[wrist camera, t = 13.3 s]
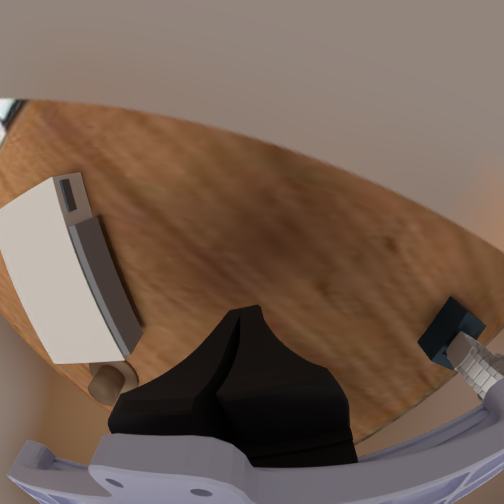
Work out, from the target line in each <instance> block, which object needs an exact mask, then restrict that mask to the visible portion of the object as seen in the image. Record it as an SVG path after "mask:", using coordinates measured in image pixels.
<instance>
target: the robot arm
mask: <svg viewBox="0 0 504 504" xmlns="http://www.w3.org/2000/svg"><path fill="white" fill-rule="evenodd" d="M108 427H109V430H110V431H111V433H112V434H109V435H103V436H102V438H101V440H100V443H99V445H98V447H97V449H96V451H95V453H94V456H93V458H92V460H91V463H90V465H85V464H81V463H77V462H73V461H70V460H66V459H62V458H59V457H56V456H55V455H54V454H53V453H52V452H51V451H50V450H49V449H48V448H47V447H46V446H44V445H43V444H41V443H38V442H35V441H32V440H27V441H26V443H25V445H24V446H23V448H22V449H21V451H20V453H19V454H18V456H17V458H16V459H15V461H14V463H13V465H12V466H11V468H10V470H9V471H8V474H7V476H8V477H9V478H10V479H11V480H12V481H13V482H15V483H16V484H17V485H18V486H19V487H20V488H22V489H23V490H24V491H25V492H27V493H28V494H29V495H30V496H32V497H33V498H34V499H36V500H37V501H38V502H40V503H41V504H452V503H454V502H455V501H457V500H459V499H460V498H462V497H464V496H465V495H467V494H468V493H470V492H471V491H473V490H475V489H476V488H478V487H479V486H481V485H482V484H484V483H485V482H487V481H488V480H489V479H491V478H492V477H494V476H495V475H496V474H498V473H499V472H501V471H502V470H503V469H504V378H502V379H501V380H499V381H498V382H496V383H495V384H494V385H492V386H491V387H490V388H489V390H488V391H487V393H486V395H485V397H484V400H483V403H482V404H481V405H479V406H477V407H476V408H474V409H472V410H471V411H469V412H467V413H465V414H463V415H461V416H459V417H458V418H456V419H454V420H452V421H450V422H448V423H446V424H444V425H442V426H440V427H438V428H435V429H433V430H431V431H429V432H426V433H424V434H422V435H419V436H417V437H415V438H412V439H410V440H407V441H405V442H402V443H399V444H397V445H394V446H391V447H388V448H386V449H383V450H380V451H377V452H374V453H370V454H367V455H364V456H360V457H357V455H356V451H355V447H354V444H353V436H352V432H351V429H350V417H349V404H348V400H347V398H346V396H345V394H344V392H343V390H342V388H341V387H340V385H339V384H338V382H337V381H336V379H335V378H334V377H333V375H332V374H331V373H330V372H329V370H328V369H327V368H325V367H322V366H319V365H316V364H314V363H311V362H309V361H307V360H305V359H303V358H302V357H300V356H299V355H297V354H296V353H294V352H293V351H291V350H290V349H289V348H288V347H286V346H285V345H284V344H283V343H282V342H281V341H280V340H279V339H278V338H277V337H276V336H275V335H274V333H273V332H272V331H271V329H270V328H269V327H268V325H267V324H266V322H265V320H264V317H263V314H262V310H261V307H260V306H259V305H253V306H249V307H244V308H239V309H234V310H230V311H229V312H228V313H227V314H226V315H225V316H224V318H223V319H222V320H221V322H220V323H219V324H218V325H217V327H216V328H215V329H214V330H213V331H212V333H211V334H210V335H209V336H208V337H207V338H206V339H205V340H204V341H203V343H202V344H201V345H200V346H199V347H198V348H197V349H196V350H195V351H194V352H193V353H191V354H190V355H189V356H188V357H187V358H186V359H184V360H183V361H182V362H181V363H179V364H178V365H176V366H175V367H173V368H172V369H170V370H169V371H168V372H166V373H164V374H163V375H161V376H159V377H158V378H156V379H154V380H152V381H150V382H148V383H146V384H144V385H142V386H140V387H137V388H135V389H132V390H130V391H127V392H125V393H122V394H120V396H119V398H118V400H117V402H116V404H115V406H114V408H113V410H112V412H111V415H110V417H109V419H108Z"/></svg>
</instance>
